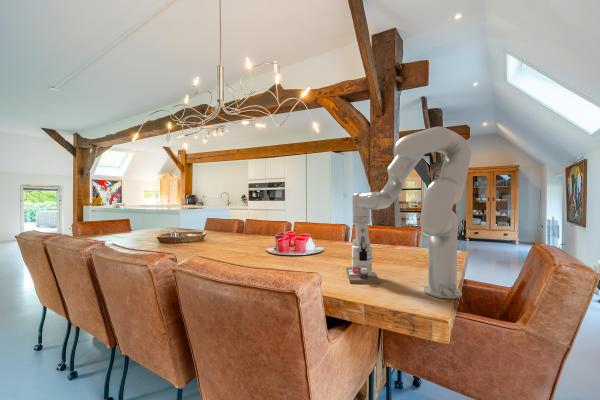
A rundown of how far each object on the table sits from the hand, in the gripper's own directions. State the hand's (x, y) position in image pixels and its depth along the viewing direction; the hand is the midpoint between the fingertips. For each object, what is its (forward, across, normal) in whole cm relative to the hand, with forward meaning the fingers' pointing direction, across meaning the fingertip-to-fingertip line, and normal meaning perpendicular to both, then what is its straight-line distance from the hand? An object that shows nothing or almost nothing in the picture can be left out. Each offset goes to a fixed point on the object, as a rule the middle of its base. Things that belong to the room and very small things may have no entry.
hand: (361, 258), depth 131 cm
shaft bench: (+8, 0, 0) cm, 8 cm away
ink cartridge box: (+6, 0, 0) cm, 7 cm away
